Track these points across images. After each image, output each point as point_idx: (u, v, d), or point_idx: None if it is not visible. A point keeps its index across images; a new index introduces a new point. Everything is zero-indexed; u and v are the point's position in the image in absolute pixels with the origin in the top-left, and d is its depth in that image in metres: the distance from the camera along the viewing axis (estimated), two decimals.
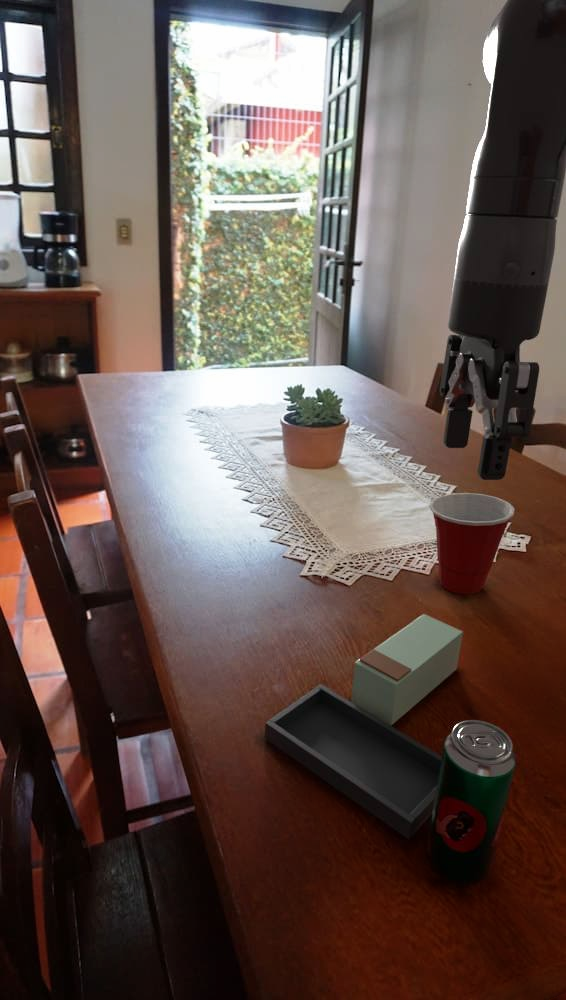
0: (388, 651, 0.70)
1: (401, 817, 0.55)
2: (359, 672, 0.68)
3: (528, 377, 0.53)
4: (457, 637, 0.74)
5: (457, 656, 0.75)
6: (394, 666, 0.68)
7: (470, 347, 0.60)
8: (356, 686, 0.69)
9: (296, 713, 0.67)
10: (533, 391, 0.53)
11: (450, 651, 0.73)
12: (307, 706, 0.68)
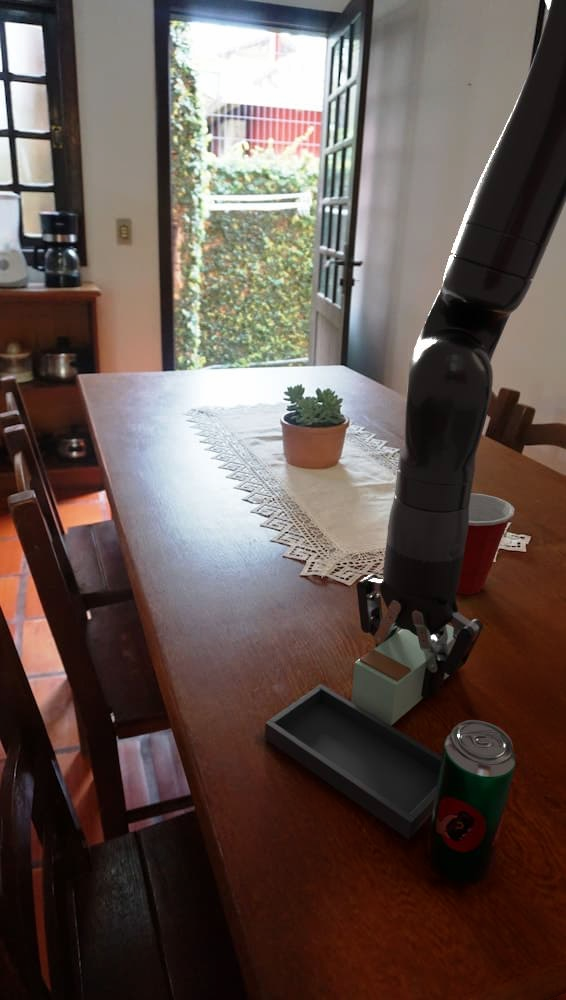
0: (388, 651, 0.70)
1: (401, 817, 0.55)
2: (359, 672, 0.68)
3: (477, 635, 0.66)
4: None
5: None
6: (394, 666, 0.68)
7: (400, 593, 0.69)
8: (356, 686, 0.69)
9: (296, 713, 0.67)
10: (476, 640, 0.67)
11: None
12: (307, 706, 0.68)
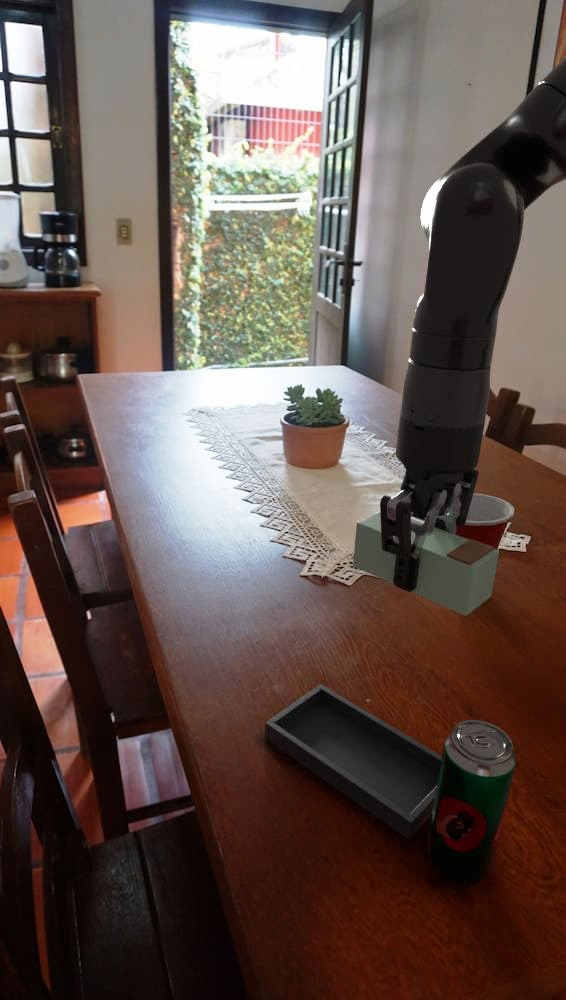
0: (441, 548, 0.64)
1: (401, 817, 0.55)
2: (476, 574, 0.61)
3: None
4: None
5: None
6: (472, 546, 0.64)
7: (435, 483, 0.62)
8: (472, 592, 0.62)
9: (296, 713, 0.67)
10: None
11: None
12: (307, 706, 0.68)
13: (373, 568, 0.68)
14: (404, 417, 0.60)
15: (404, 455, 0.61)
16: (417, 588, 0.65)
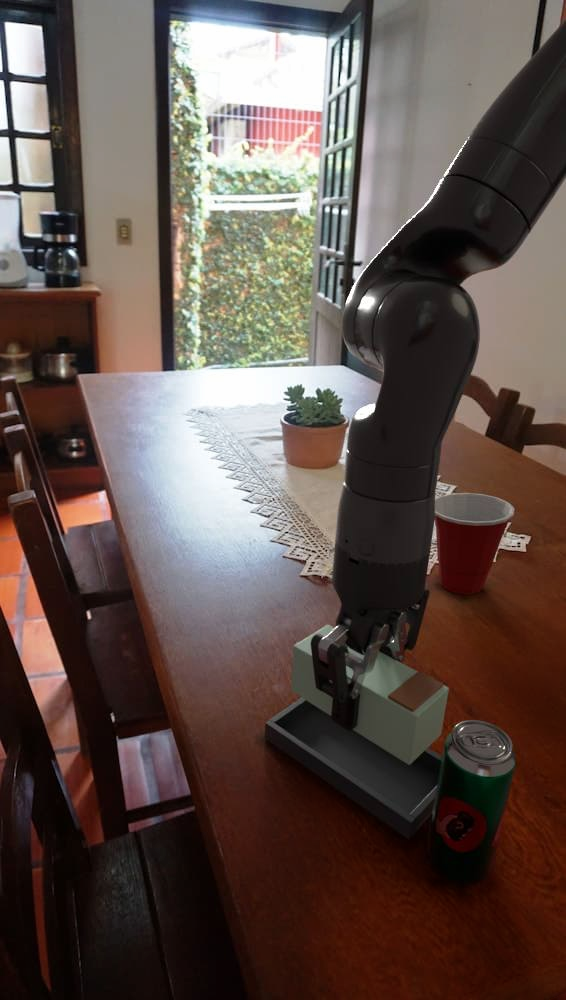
0: (383, 685, 0.57)
1: (401, 817, 0.55)
2: (420, 721, 0.54)
3: None
4: None
5: None
6: (418, 682, 0.57)
7: (376, 616, 0.55)
8: (416, 740, 0.55)
9: (296, 713, 0.67)
10: None
11: None
12: (307, 706, 0.68)
13: (311, 697, 0.61)
14: (339, 545, 0.53)
15: (339, 586, 0.54)
16: (358, 726, 0.58)
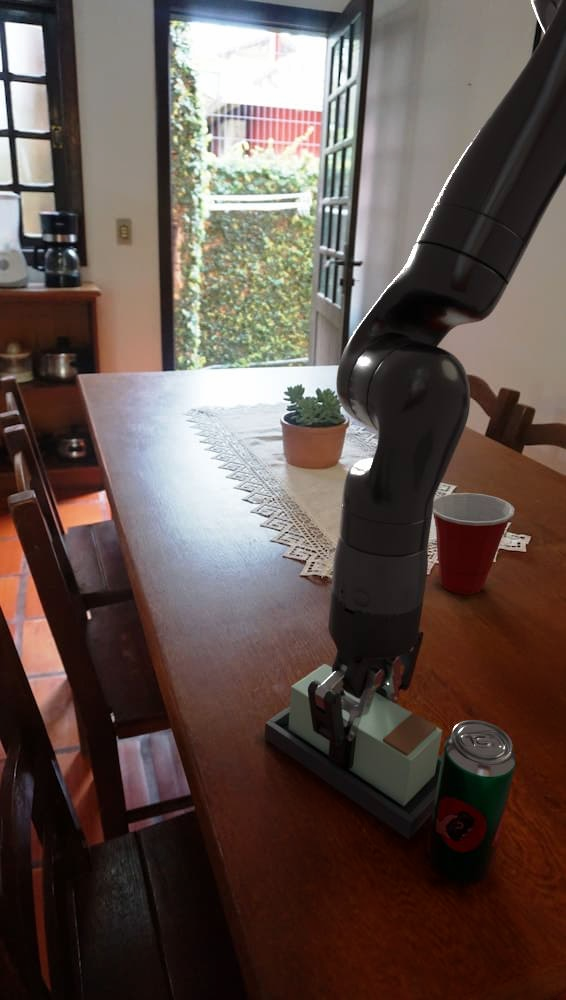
0: (379, 727, 0.58)
1: (401, 817, 0.55)
2: (414, 764, 0.56)
3: None
4: None
5: None
6: (413, 725, 0.58)
7: (371, 661, 0.56)
8: (410, 782, 0.56)
9: None
10: None
11: None
12: None
13: (309, 736, 0.63)
14: (335, 594, 0.55)
15: (335, 634, 0.55)
16: (354, 767, 0.60)
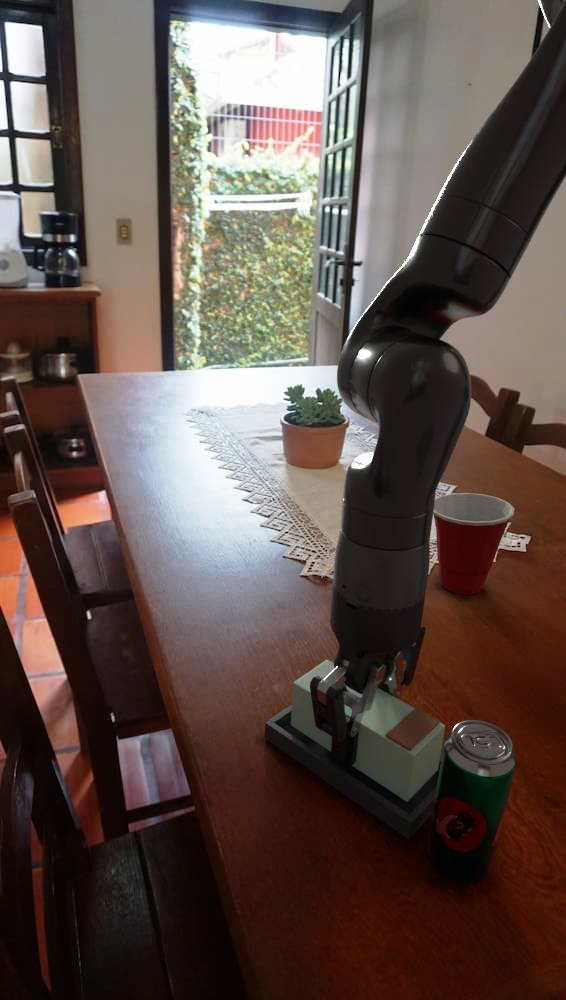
0: (381, 723, 0.58)
1: (401, 817, 0.55)
2: (417, 759, 0.55)
3: None
4: None
5: None
6: (415, 720, 0.58)
7: (373, 656, 0.56)
8: (413, 778, 0.56)
9: None
10: None
11: None
12: None
13: (311, 732, 0.63)
14: (336, 589, 0.54)
15: (337, 629, 0.55)
16: (356, 762, 0.59)
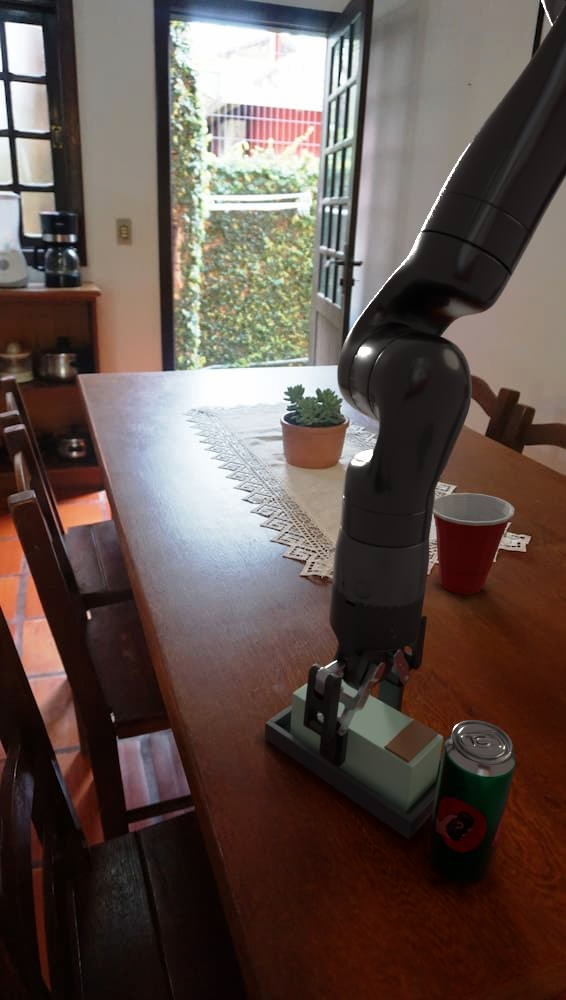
0: (380, 734, 0.58)
1: (401, 817, 0.55)
2: (415, 771, 0.56)
3: None
4: None
5: None
6: (414, 732, 0.59)
7: (372, 654, 0.56)
8: (411, 789, 0.56)
9: None
10: None
11: None
12: None
13: (310, 742, 0.63)
14: (336, 586, 0.54)
15: (336, 626, 0.55)
16: (355, 773, 0.60)
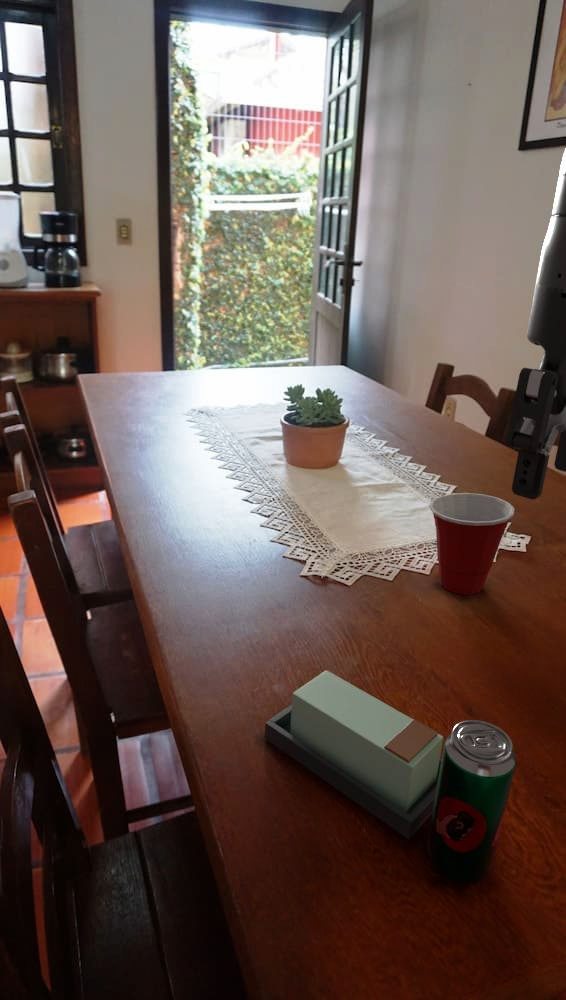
0: (380, 734, 0.58)
1: (401, 817, 0.55)
2: (415, 771, 0.56)
3: None
4: (336, 676, 0.66)
5: None
6: (414, 732, 0.59)
7: None
8: (411, 789, 0.56)
9: None
10: None
11: None
12: None
13: (310, 742, 0.63)
14: (546, 286, 0.50)
15: (544, 333, 0.51)
16: (355, 773, 0.60)
